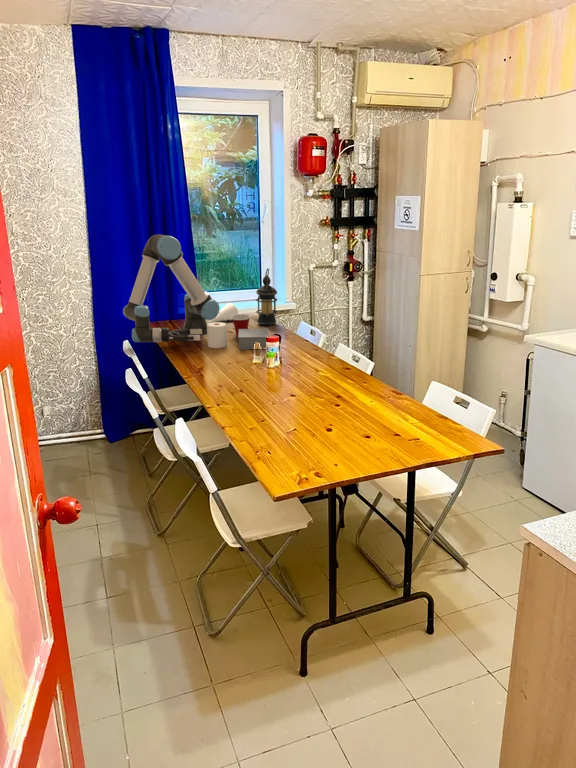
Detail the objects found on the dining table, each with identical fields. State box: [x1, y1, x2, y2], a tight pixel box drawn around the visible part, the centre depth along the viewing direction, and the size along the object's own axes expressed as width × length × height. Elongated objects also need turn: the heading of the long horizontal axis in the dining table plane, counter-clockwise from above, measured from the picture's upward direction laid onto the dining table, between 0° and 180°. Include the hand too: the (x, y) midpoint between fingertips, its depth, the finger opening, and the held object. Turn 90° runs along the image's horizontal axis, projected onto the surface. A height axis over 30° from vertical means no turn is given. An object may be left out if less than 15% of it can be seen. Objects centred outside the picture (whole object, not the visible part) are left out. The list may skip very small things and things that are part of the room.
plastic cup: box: [232, 313, 251, 338], centre depth 345 cm, size 11×11×12 cm
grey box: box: [237, 328, 270, 351], centre depth 327 cm, size 19×17×7 cm
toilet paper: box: [206, 321, 228, 349], centre depth 325 cm, size 10×10×12 cm
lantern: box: [255, 268, 278, 326], centre depth 370 cm, size 14×13×35 cm
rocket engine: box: [209, 302, 239, 323], centre depth 382 cm, size 12×12×18 cm
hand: (201, 334), depth 324 cm, fingers open, 13 cm apart
